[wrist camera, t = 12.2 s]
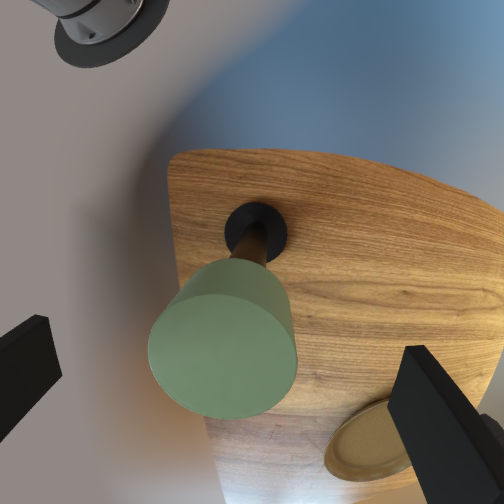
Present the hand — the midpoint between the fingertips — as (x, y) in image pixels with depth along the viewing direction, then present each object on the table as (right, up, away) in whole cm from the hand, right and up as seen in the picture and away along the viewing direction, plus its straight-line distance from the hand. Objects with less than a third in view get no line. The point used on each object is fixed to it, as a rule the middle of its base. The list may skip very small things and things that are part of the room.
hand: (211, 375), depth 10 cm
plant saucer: (+26, -30, +38) cm, 55 cm away
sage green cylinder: (0, +1, +6) cm, 6 cm away
